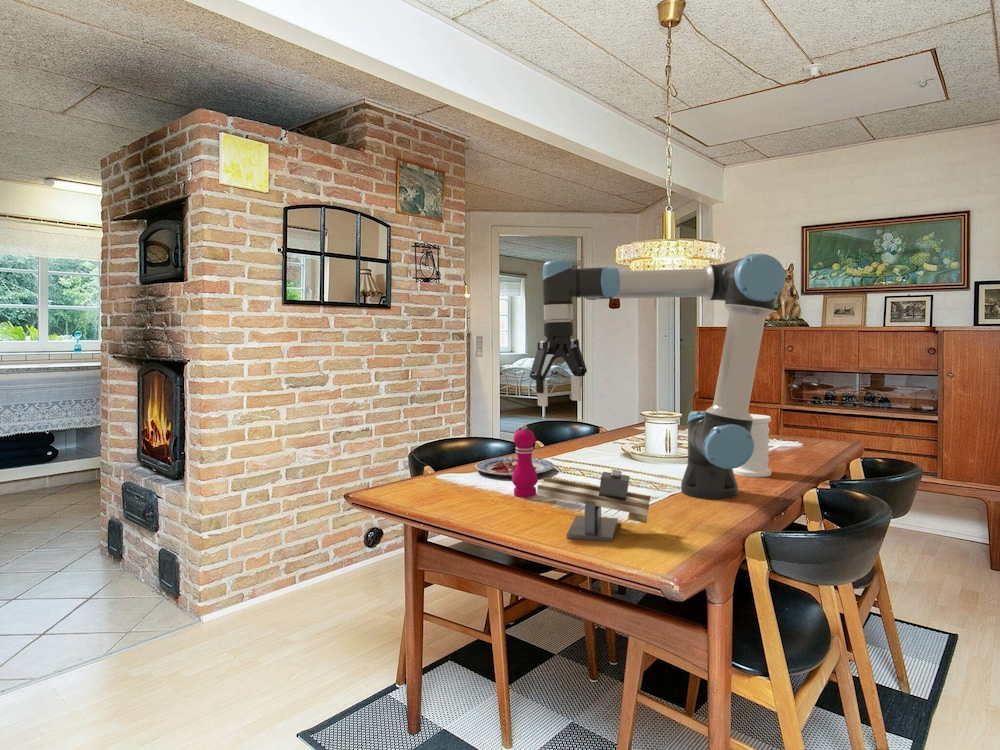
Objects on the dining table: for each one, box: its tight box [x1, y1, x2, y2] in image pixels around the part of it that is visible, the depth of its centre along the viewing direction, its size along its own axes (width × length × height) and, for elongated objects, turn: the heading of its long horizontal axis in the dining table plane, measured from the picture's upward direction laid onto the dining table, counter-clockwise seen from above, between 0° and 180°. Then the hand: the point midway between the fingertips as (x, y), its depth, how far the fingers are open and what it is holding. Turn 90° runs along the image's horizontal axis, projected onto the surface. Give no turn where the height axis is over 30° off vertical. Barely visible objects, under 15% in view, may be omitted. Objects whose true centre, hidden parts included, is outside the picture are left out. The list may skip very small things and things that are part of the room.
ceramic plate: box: [474, 456, 555, 478], centre depth 208 cm, size 26×26×3 cm
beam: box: [536, 476, 651, 524], centre depth 146 cm, size 25×8×4 cm, turn 75°
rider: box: [599, 469, 630, 501], centre depth 145 cm, size 6×5×6 cm
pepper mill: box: [511, 424, 539, 498], centre depth 178 cm, size 7×7×20 cm
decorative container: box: [733, 413, 772, 478], centre depth 199 cm, size 12×12×18 cm
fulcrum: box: [566, 502, 619, 543], centre depth 146 cm, size 10×14×8 cm
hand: (560, 403), depth 165 cm, fingers open, 13 cm apart
